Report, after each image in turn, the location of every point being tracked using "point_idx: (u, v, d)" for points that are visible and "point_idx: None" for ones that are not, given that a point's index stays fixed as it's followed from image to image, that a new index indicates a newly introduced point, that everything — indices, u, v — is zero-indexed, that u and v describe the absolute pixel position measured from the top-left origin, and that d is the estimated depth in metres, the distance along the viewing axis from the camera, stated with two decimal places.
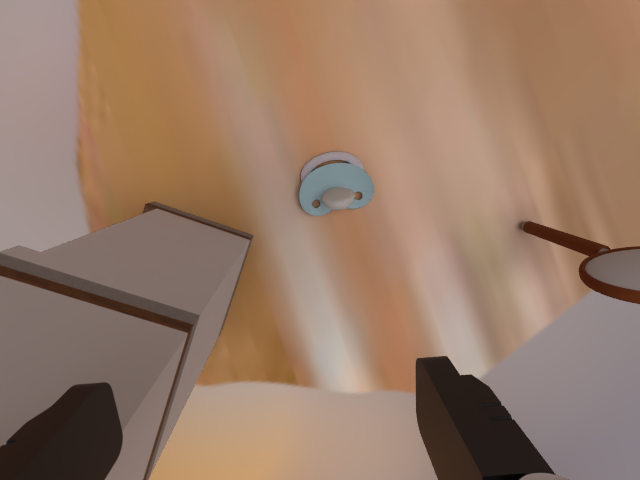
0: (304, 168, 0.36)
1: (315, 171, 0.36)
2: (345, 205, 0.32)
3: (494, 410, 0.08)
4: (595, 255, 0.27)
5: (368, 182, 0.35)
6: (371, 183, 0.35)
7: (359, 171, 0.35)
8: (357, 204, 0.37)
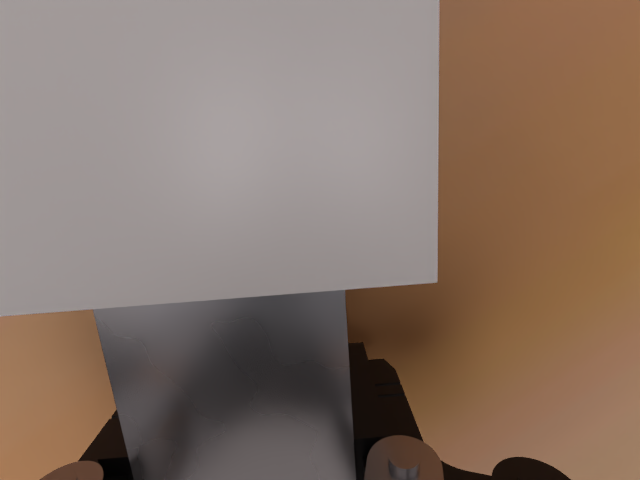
0: None
1: None
2: None
3: (391, 388, 0.09)
4: None
5: None
6: None
7: None
8: None
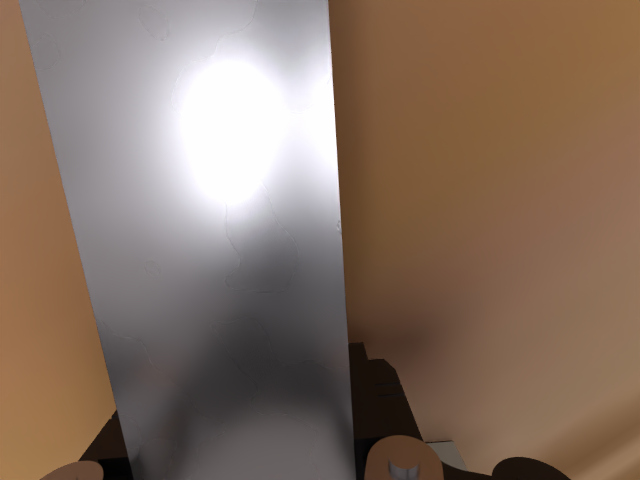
0: None
1: None
2: None
3: (391, 388, 0.09)
4: None
5: None
6: None
7: None
8: None
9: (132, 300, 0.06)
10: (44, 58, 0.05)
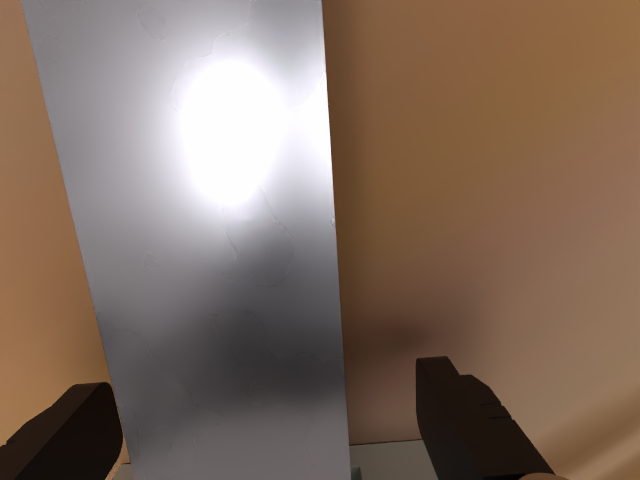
0: None
1: None
2: None
3: (494, 410, 0.08)
4: None
5: None
6: None
7: None
8: None
9: (131, 293, 0.06)
10: (46, 57, 0.05)
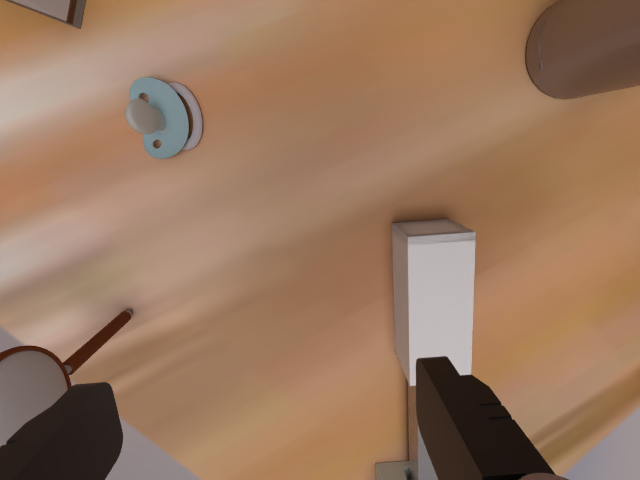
0: (182, 86, 0.35)
1: (177, 97, 0.34)
2: (129, 122, 0.31)
3: (494, 410, 0.08)
4: (57, 360, 0.29)
5: (169, 153, 0.35)
6: (168, 156, 0.35)
7: (180, 144, 0.35)
8: (147, 143, 0.35)
9: None
10: None
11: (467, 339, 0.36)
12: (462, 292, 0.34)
